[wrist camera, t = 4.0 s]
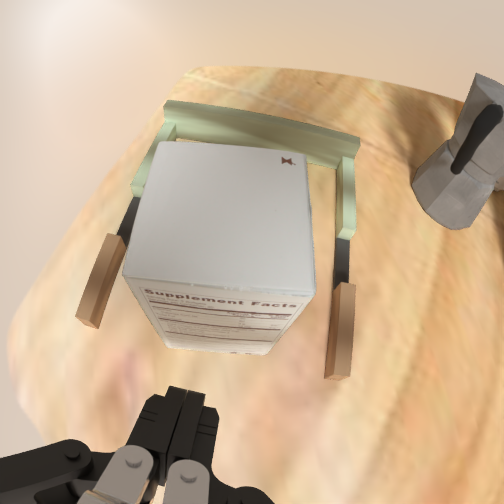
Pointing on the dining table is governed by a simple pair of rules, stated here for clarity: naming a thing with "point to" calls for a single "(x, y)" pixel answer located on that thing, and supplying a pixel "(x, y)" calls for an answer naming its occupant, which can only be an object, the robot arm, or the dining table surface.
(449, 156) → the coffeepot
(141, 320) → the dining table surface
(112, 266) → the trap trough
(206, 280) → the supplement box
